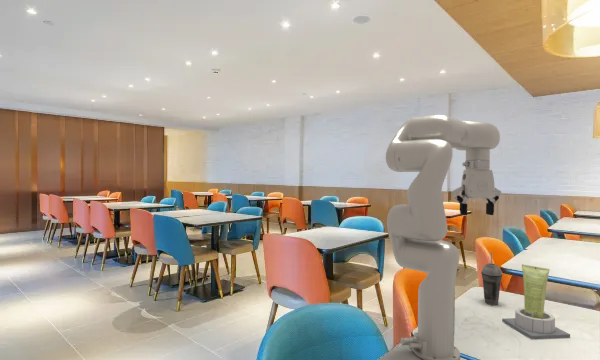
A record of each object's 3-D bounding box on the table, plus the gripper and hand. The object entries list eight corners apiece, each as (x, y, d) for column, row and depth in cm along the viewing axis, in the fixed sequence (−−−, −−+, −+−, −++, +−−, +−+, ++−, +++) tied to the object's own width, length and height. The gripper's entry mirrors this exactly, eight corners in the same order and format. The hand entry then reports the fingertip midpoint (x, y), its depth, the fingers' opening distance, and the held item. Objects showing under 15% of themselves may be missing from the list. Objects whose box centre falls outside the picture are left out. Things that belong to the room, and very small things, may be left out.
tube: (538, 322, 115) (539, 264, 115) (548, 329, 110) (549, 268, 110) (520, 322, 115) (521, 264, 115) (530, 329, 110) (531, 268, 110)
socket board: (531, 339, 106) (531, 322, 106) (502, 321, 119) (502, 306, 119) (570, 337, 107) (570, 321, 107) (537, 320, 120) (537, 305, 120)
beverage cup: (481, 305, 134) (482, 253, 134) (480, 299, 141) (480, 250, 140) (503, 308, 131) (504, 255, 131) (500, 301, 138) (501, 251, 137)
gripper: (460, 165, 116) (459, 216, 116) (508, 165, 118) (507, 215, 118) (448, 165, 124) (447, 213, 124) (493, 166, 125) (492, 213, 126)
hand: (476, 214), depth 121 cm, fingers open, 9 cm apart
